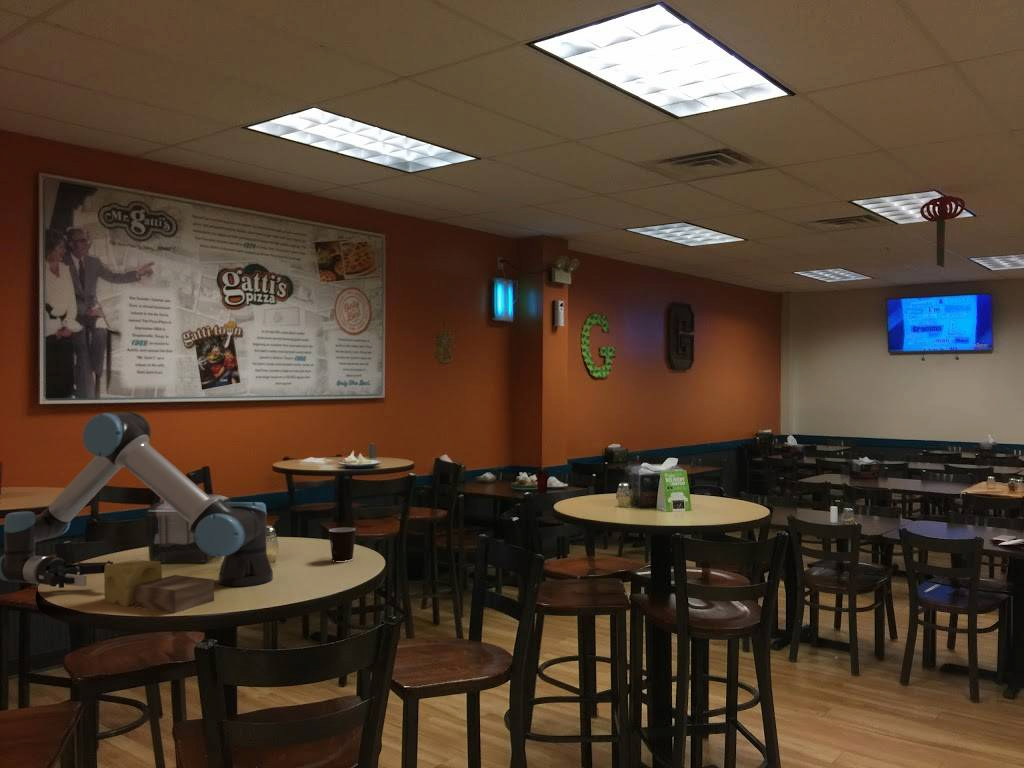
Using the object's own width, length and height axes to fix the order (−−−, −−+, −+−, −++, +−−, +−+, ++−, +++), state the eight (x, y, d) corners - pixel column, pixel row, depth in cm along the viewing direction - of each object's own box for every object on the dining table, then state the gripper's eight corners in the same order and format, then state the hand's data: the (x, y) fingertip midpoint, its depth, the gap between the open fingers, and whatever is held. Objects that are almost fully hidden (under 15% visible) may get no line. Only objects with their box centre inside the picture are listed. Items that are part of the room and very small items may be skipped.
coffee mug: (353, 563, 268) (352, 532, 268) (326, 563, 268) (326, 532, 268) (360, 556, 280) (359, 526, 280) (334, 556, 280) (334, 526, 280)
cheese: (126, 607, 215) (126, 568, 215) (102, 602, 221) (101, 564, 221) (162, 598, 224) (162, 561, 224) (137, 593, 230) (137, 557, 230)
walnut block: (214, 602, 221) (213, 579, 221) (175, 614, 209) (175, 590, 209) (175, 597, 227) (174, 574, 227) (135, 608, 215) (135, 585, 215)
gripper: (82, 574, 244) (140, 579, 237) (5, 594, 221) (67, 600, 214) (82, 548, 244) (140, 553, 237) (5, 566, 221) (67, 571, 214)
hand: (106, 575), depth 226 cm, fingers open, 13 cm apart
